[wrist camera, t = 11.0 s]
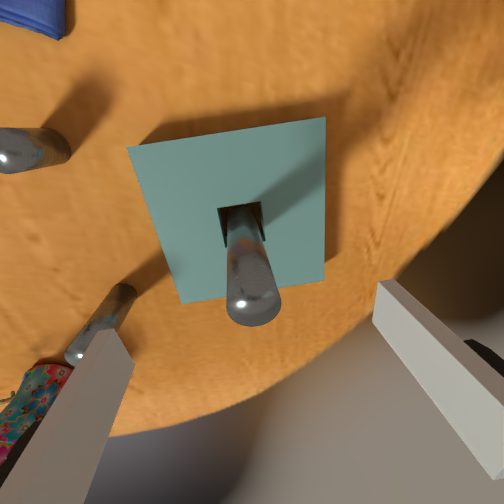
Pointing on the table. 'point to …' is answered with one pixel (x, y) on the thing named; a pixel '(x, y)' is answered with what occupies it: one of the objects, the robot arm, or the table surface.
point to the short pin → (31, 149)
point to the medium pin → (103, 320)
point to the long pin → (249, 271)
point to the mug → (30, 402)
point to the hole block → (237, 201)
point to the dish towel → (35, 15)
